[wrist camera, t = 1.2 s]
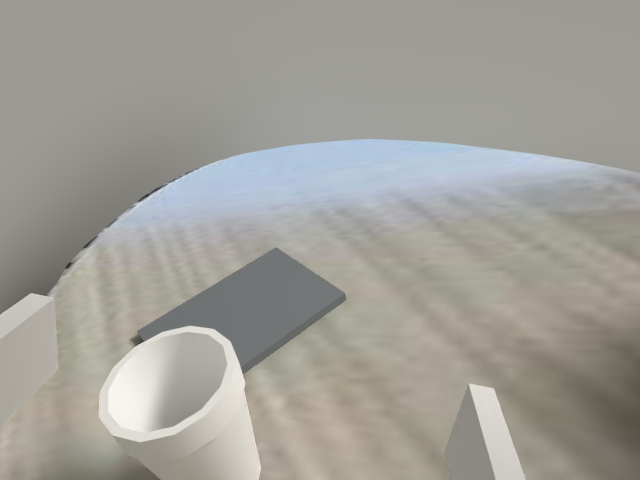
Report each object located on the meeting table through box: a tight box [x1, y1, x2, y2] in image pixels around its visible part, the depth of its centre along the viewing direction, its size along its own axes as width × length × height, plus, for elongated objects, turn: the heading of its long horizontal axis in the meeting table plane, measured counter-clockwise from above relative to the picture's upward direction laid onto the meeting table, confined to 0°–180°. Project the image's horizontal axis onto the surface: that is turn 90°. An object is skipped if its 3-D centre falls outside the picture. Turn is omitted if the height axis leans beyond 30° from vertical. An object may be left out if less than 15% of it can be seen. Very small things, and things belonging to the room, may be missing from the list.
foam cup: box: [99, 326, 261, 480], centre depth 36 cm, size 10×9×13 cm
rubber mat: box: [137, 248, 346, 374], centre depth 55 cm, size 20×14×1 cm
